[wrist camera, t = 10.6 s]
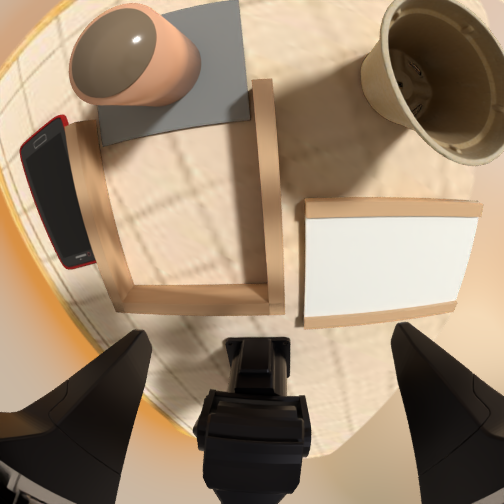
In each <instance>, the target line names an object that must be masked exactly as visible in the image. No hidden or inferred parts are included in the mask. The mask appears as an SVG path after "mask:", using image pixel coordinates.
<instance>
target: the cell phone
mask: <svg viewBox="0 0 504 504" xmlns="http://www.w3.org/2000/svg"><path fill="white" fill-rule="evenodd" d="M67 125H69V123H68V121H67V118H66V116H65V115H58V116H56V117H54V118H53V119H51V120H50V121H49V122H48V123H46V124H45V125H44V126H43V127H41V128H40V129H39V130H38V131H37V132H35V133H34V134H33V135H32V136H31V137H30V138H29V139H27V140H26V141H25V142H24V143H23V144H22V146H21V147H20V158H21V162H22V165H23V169H24V172H25V175H26V179H27V182H28V185H29V188H30V191H31V194H32V197H33V199H34V202H35V205H36V207H37V210H38V213H39V215H40V218H41V220H42V223H43V225H44V227H45V230H46V232H47V234H48V237H49V239H50V241H51V243H52V245H53V247H54V250H55V252H56V254H57V256H58V258H59V260H60V262H61V263H62V265H63V266H64V267H65V268H66V269H75V268H79V267H82V266H86V265H90V264H93V263H97V262H96V259H95V256H94V253H93V250H92V247H91V244H90V241H89V238H88V234H87V231H86V228H85V224H84V221H83V217H82V213H81V210H80V206H79V202H78V198H77V194H76V189H75V185H74V180H73V175H72V170H71V165H70V160H69V154H68V147H67V141H66V134H65V126H67Z"/></svg>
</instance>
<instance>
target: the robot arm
mask: <svg viewBox="0 0 504 504" xmlns="http://www.w3.org/2000/svg"><path fill="white" fill-rule="evenodd" d="M285 342H286V343H285ZM391 348H392V353H393V359H394V364H395V370H396V376H397V381H398V385H399V389H400V392H401V396H402V400H403V404H404V408H405V412H406V415H407V420H408V424H409V429H410V433H411V438H412V443H413V448H414V453H415V458H416V464H417V470H418V476H419V477H418V478H419V485H420V493H421V502H422V504H504V396H503V395H502V394H500V393H498V392H497V391H496V390H494V389H493V388H491V387H490V386H489V385H488V384H486V383H485V382H484V381H482V380H481V379H480V378H479V377H477V376H476V375H475V374H473V373H472V372H471V371H470V370H469V369H468V368H466V367H465V366H464V365H463V364H461V363H460V362H459V361H457V360H456V359H455V358H454V357H453V356H451V355H450V354H449V353H447V352H446V351H445V350H444V349H442V348H441V347H440V346H438V345H437V344H436V343H435V342H433V341H432V340H431V339H430V338H428V337H427V336H426V335H424V334H423V333H422V332H420V331H419V330H418V329H416V328H415V327H414V326H412V325H411V324H410V323H408V322H401V323H397V324H396V326H395V329H394V332H393V335H392V338H391ZM226 349H227V353H228V358H229V362H230V366H231V373H230V379H229V385H228V391H227V392H222V391H216V390H213V389H210V391H209V394H208V396H206V398H205V399H204V404H203V408H202V411H201V414H200V416H199V418H198V420H197V421H196V423H195V425H194V427H193V433H194V435H195V436H196V437H197V442H198V449H199V450H201V451H204V459H203V479H204V481H205V483H206V485H207V487H208V488H209V489H213V490H214V492H215V494H216V495H217V497H218V498H219V500H220V501H221V504H278V503H279V502H280V501H281V500H282V499H283V498H284V496H285V495H286V494H292V493H293V492H294V490H295V489H296V488H297V486H298V484H299V482H300V474H301V466H302V457H307V456H308V454H309V451H310V446H311V423H310V418H309V413H308V408H307V403H306V398H305V395H299V396H287V378H288V377H289V376H290V339H289V338H287V337H282V338H228V339H227V340H226ZM151 353H152V346H151V343H150V341H149V339H148V336H147V334H146V332H145V331H144V330H138V329H135V330H133V331H131V332H130V333H128V334H127V335H126V336H124V337H123V338H122V339H120V340H119V341H118V342H116V343H115V344H114V345H112V346H111V347H110V348H108V349H107V350H106V351H104V352H103V353H102V354H100V355H99V356H98V357H97V358H95V359H94V360H93V361H91V362H90V363H89V364H87V365H86V366H85V367H84V368H82V369H81V370H79V371H78V372H77V373H75V374H74V375H73V376H71V377H70V378H69V380H66V381H65V382H63V383H62V384H61V385H59V386H58V387H57V388H55V389H54V390H52V391H51V392H49V393H48V394H46V395H45V396H44V397H42V398H40V399H39V400H37V401H35V402H34V403H32V404H31V405H29V406H27V407H26V408H24V409H22V410H20V411H17V412H11V413H6V412H0V504H115V501H116V496H117V491H118V486H119V481H120V477H121V472H122V468H123V464H124V460H125V455H126V451H127V447H128V444H129V439H130V436H131V432H132V429H133V425H134V421H135V418H136V414H137V411H138V407H139V404H140V400H141V397H142V394H143V391H144V387H145V383H146V378H147V373H148V368H149V363H150V358H151Z"/></svg>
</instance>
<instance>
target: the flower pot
mask: <svg viewBox="0 0 504 504" xmlns="http://www.w3.org/2000/svg"><path fill="white" fill-rule="evenodd" d="M410 62H412V63H413V64H415V65H416V66H417V67H418V68H419V70H420V73H421V75H419V74H418V72H417V71H416V70H415V69H414V67H413V66H412V65H411V64H410ZM398 82H401V83H402V87H400V86H398ZM361 85H362V90H363V93H364V95H365V97H366V99H367V100H368V102H369V104H370V105H371V106H372V108H373V109H374V110H375V111H376V112H377V113H379V114H380V115H381V116H382V117H384V118H385V119H387V120H389V121H391V122H394V123H396V124H400V125H403V126H405V127H407V128H410V129H412V130H414V131H416V132H417V133H418V134H419V136H420V137H421V138H422V139H423V140H424V141H425V142H426V143H427V144H428V145H429V146H431V147H432V148H433V149H434V150H435V151H437V152H438V153H439V154H441V155H443V156H444V157H446V158H448V159H450V160H452V161H454V162H457V163H459V164H463V165H468V166H479V165H484V164H488V163H490V162H491V161H493V160H494V159H496V158H498V157H499V156H500V155H501V154H502V152H504V51H503V48H502V47H501V45H500V43H499V42H498V40H497V39H496V37H495V36H494V35H493V33H492V32H491V30H490V29H489V28H488V27H487V26H486V25H485V23H484V22H483V21H482V20H481V19H480V18H479V17H478V16H477V15H476V14H474V13H473V12H472V11H471V10H470V9H468V8H467V7H465V6H464V5H463V4H461V3H460V2H458V1H456V0H394V1H393V2H392V3H391V4H390V6H389V7H388V8H387V10H386V12H385V14H384V16H383V19H382V23H381V28H380V40H379V41H378V43H377V44H376V45H375V47H374V48H373V49H372V51H371V52H370V53H369V54H368V56H367V57H366V58H365V60H364V61H363V64H362V66H361ZM419 104H421V105H422V107H421V109H420V111H419V112H418V113H417V114H416V115H415V116H414V115H413V113H412V110H414V109H416V108H417V106H418V105H419Z"/></svg>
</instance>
